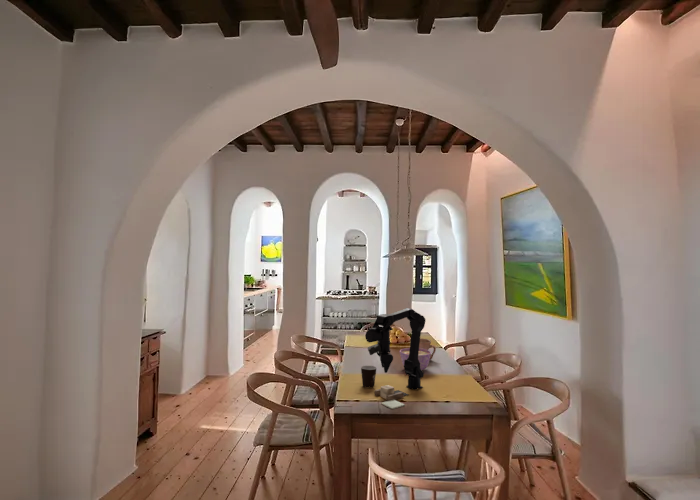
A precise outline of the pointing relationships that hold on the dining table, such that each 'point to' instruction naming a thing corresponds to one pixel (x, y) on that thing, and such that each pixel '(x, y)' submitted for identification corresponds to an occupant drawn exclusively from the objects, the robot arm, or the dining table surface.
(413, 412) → the dining table surface
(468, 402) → the dining table surface
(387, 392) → the beech block
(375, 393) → the walnut channel
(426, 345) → the ceramic jug
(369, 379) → the coffee mug
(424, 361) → the bowl of food
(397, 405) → the sage coaster
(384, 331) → the robot arm
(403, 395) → the tile
